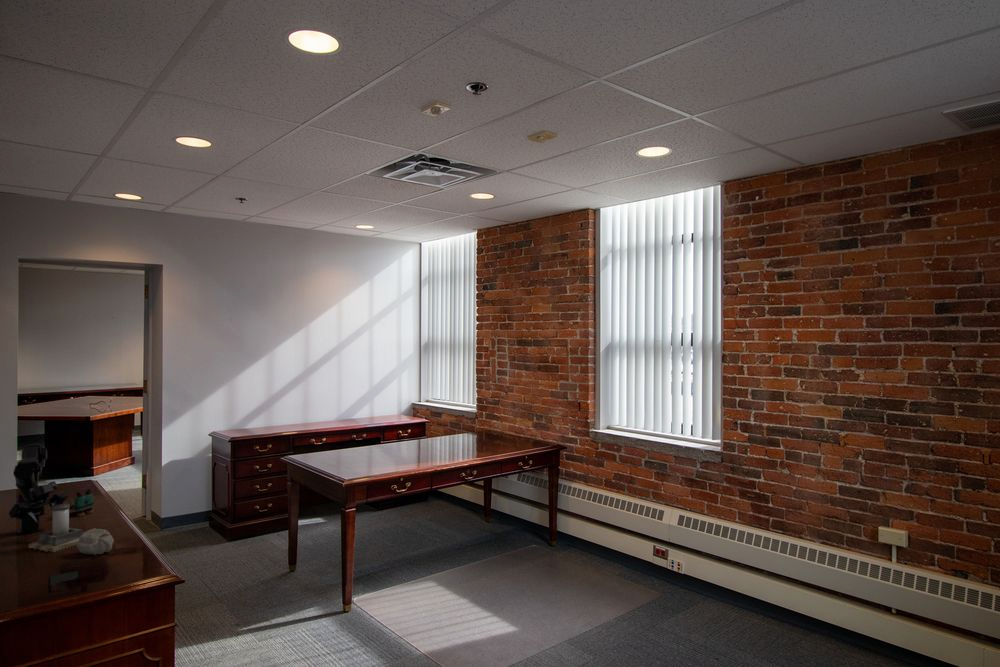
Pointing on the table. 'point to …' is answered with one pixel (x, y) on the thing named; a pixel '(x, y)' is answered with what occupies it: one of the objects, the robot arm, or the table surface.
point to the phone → (63, 577)
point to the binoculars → (82, 504)
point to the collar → (56, 540)
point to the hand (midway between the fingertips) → (50, 521)
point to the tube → (60, 519)
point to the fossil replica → (95, 541)
